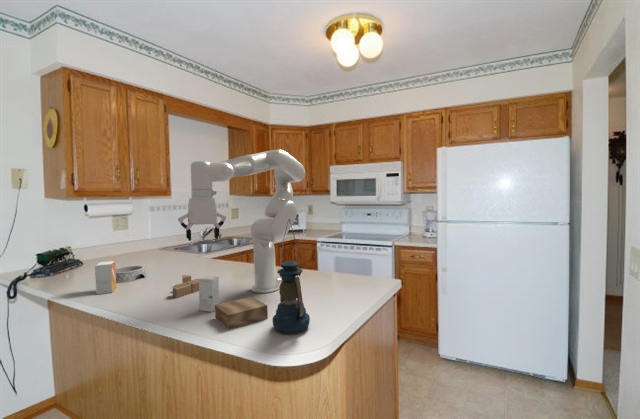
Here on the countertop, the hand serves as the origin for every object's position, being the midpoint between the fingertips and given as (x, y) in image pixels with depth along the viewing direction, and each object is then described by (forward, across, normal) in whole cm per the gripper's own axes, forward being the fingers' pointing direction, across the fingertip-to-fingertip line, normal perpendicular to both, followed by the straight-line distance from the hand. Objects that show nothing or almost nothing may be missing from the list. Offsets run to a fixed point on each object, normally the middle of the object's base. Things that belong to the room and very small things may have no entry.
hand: (203, 239), depth 124 cm
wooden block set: (+27, +6, -29) cm, 40 cm away
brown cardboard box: (+26, -9, +19) cm, 34 cm away
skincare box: (+26, -1, +3) cm, 27 cm away
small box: (+27, +35, -46) cm, 64 cm away
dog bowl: (+27, +28, -68) cm, 79 cm away
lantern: (+26, -21, +35) cm, 48 cm away
